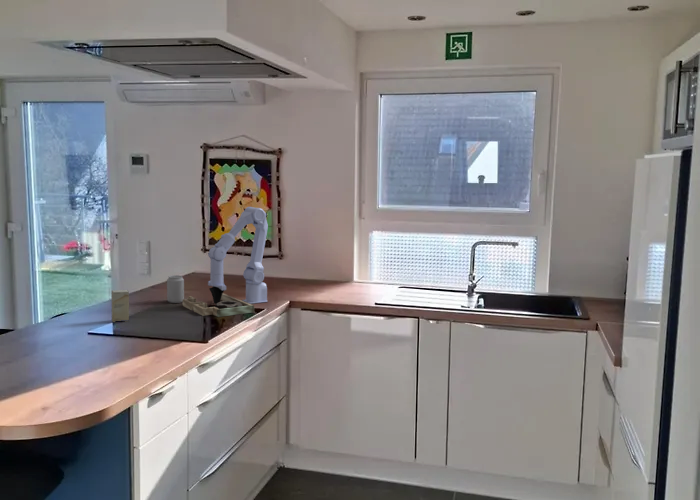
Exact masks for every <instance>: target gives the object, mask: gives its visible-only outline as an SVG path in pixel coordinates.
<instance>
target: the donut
mask: <svg viewBox="0 0 700 500" xmlns="http://www.w3.org/2000/svg"><path fill="white" fill-rule="evenodd" d="M241 306H242V304H241V303H240V302H237V301H223V300H220V302H218V303H217V304H215V306H214V307H216V308H218V309H224V308H232V307H241Z"/></svg>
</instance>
